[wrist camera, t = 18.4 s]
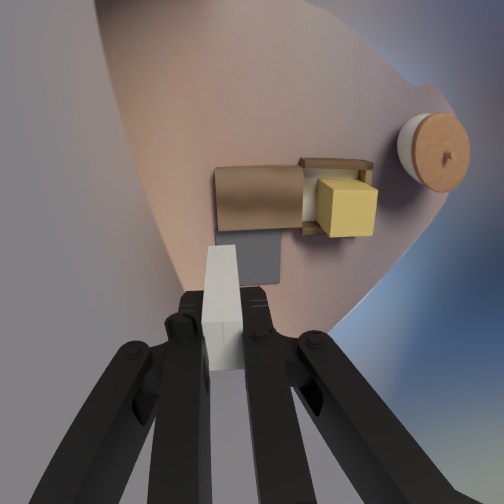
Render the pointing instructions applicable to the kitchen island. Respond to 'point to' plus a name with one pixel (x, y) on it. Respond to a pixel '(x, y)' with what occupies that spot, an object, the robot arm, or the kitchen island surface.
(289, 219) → the brown tray
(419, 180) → the lidded jar
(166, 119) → the kitchen island surface
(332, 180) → the block
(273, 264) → the mat
